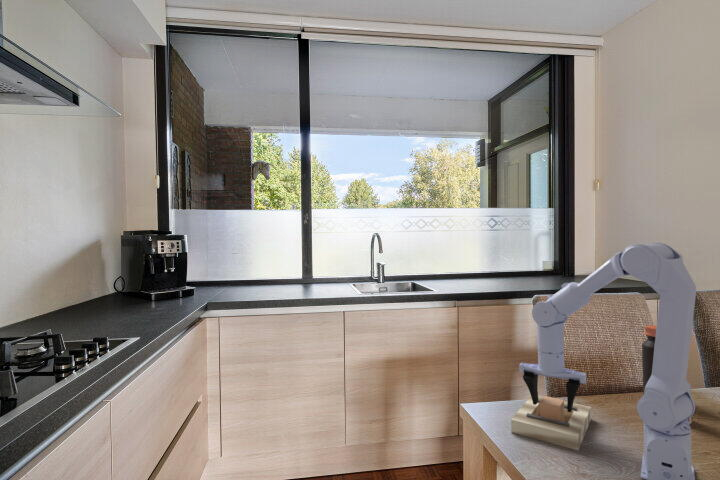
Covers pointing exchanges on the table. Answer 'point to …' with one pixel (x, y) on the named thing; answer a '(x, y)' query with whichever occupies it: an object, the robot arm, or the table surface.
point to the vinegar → (648, 354)
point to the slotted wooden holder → (552, 424)
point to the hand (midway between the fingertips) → (552, 406)
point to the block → (552, 408)
